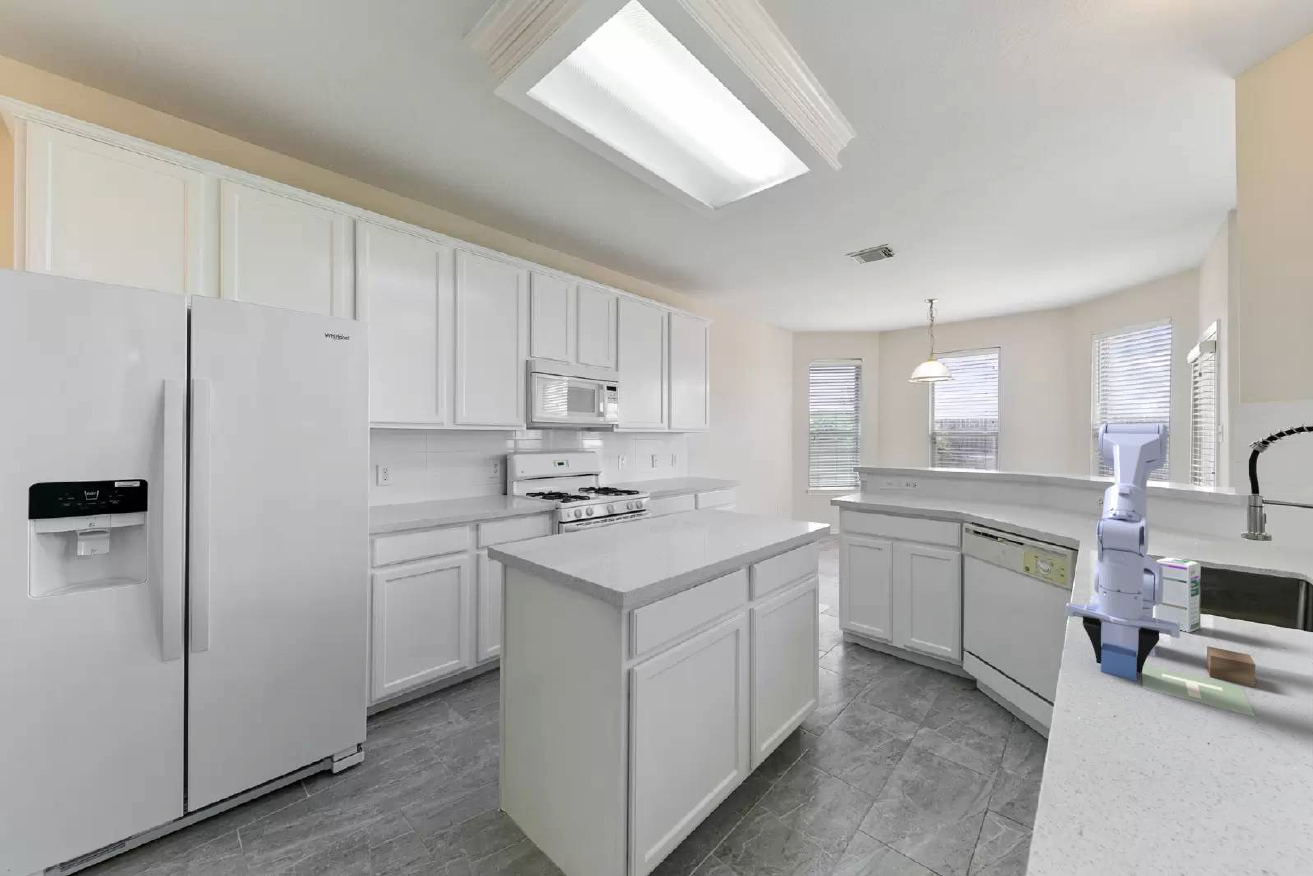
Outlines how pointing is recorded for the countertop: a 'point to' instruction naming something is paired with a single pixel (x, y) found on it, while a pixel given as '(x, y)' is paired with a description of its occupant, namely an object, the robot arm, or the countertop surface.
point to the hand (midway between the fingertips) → (1118, 666)
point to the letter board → (1196, 689)
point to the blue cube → (1119, 660)
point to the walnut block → (1231, 666)
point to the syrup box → (1180, 593)
